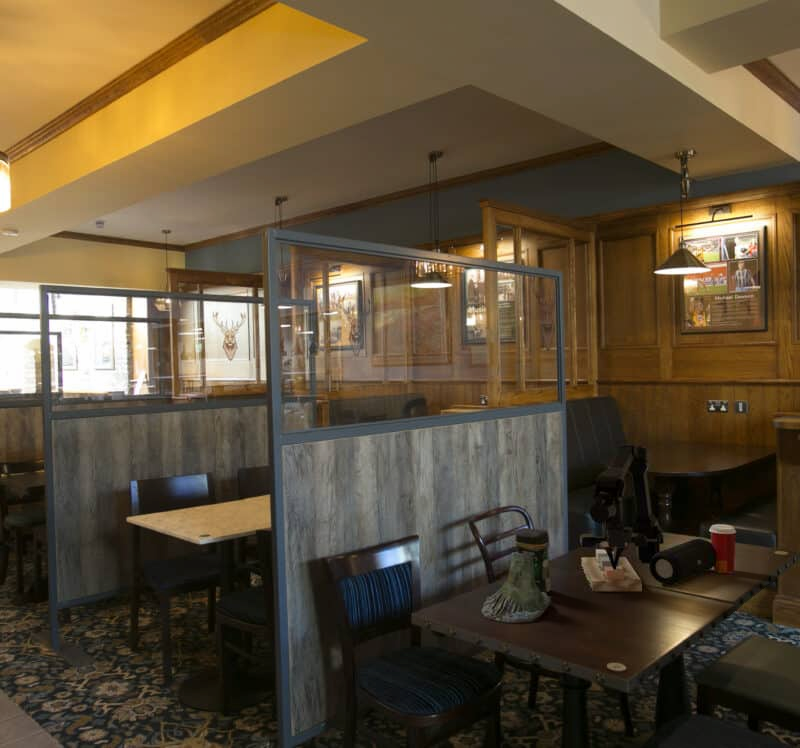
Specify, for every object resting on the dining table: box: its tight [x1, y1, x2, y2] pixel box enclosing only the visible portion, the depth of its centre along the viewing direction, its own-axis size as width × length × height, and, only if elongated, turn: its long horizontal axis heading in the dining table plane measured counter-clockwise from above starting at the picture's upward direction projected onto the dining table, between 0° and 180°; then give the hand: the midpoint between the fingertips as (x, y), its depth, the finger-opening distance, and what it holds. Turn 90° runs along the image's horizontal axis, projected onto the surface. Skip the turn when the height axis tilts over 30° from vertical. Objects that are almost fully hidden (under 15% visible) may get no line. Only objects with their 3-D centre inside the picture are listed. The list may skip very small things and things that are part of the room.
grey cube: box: [600, 557, 619, 571], centre depth 220 cm, size 5×5×5 cm
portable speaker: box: [648, 538, 717, 586], centre depth 217 cm, size 26×10×10 cm, turn 129°
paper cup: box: [708, 524, 737, 574], centre depth 222 cm, size 8×8×14 cm
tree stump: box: [481, 552, 552, 624], centre depth 195 cm, size 18×20×18 cm
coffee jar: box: [514, 527, 552, 594], centre depth 210 cm, size 10×8×19 cm
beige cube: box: [595, 548, 614, 563], centre depth 229 cm, size 5×5×5 cm
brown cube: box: [604, 567, 625, 580], centre depth 211 cm, size 5×5×5 cm
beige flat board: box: [581, 556, 643, 592], centre depth 220 cm, size 14×26×3 cm, turn 172°
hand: (614, 568), depth 211 cm, fingers closed, pressing on brown cube
